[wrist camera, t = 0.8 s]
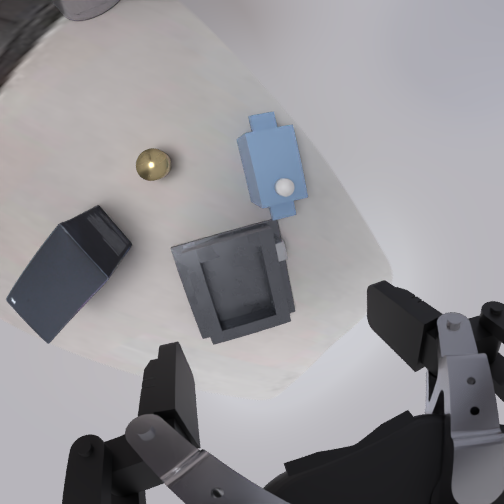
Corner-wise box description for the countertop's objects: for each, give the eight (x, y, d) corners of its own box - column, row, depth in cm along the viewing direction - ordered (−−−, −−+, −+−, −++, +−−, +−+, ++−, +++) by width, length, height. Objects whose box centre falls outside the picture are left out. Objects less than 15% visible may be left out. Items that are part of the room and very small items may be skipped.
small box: (81, 301, 30) (48, 349, 20) (46, 263, 28) (2, 299, 18) (135, 245, 30) (111, 281, 20) (97, 202, 28) (56, 220, 18)
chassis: (171, 247, 31) (169, 254, 28) (275, 218, 32) (282, 222, 29) (202, 336, 35) (203, 348, 32) (293, 309, 36) (301, 319, 33)
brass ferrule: (140, 156, 27) (132, 154, 24) (167, 147, 28) (163, 144, 24) (147, 182, 28) (140, 184, 24) (174, 174, 29) (171, 175, 25)
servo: (232, 124, 28) (242, 113, 22) (272, 116, 29) (292, 105, 23) (254, 216, 32) (269, 228, 26) (292, 206, 32) (315, 216, 26)
